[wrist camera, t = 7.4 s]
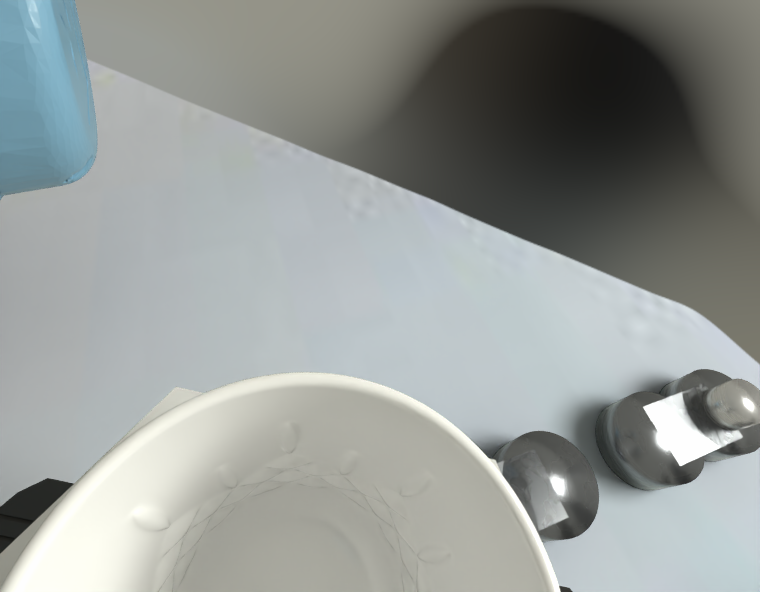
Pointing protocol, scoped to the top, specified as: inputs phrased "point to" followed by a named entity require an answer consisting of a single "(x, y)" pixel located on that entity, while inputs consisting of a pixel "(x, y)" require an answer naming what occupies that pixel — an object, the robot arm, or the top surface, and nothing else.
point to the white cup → (290, 501)
